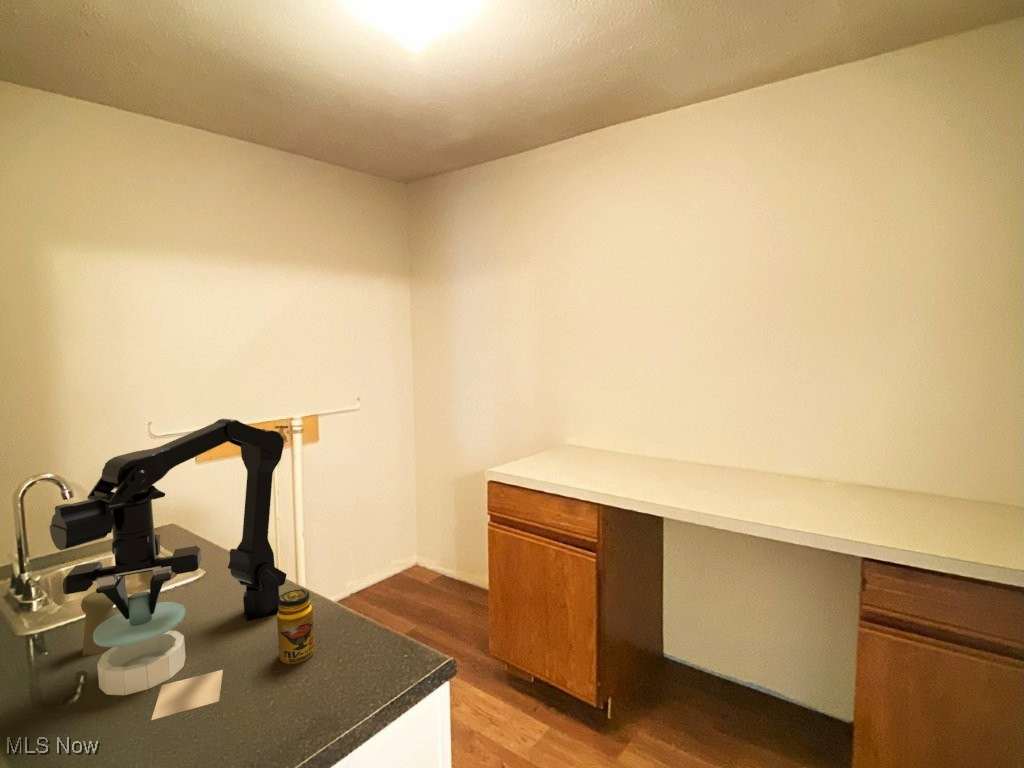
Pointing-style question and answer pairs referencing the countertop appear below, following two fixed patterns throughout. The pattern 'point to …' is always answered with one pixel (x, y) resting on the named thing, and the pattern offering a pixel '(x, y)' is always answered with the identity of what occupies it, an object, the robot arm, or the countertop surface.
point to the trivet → (188, 694)
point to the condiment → (295, 626)
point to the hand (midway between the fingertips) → (140, 615)
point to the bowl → (141, 664)
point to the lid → (139, 622)
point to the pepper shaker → (95, 620)
